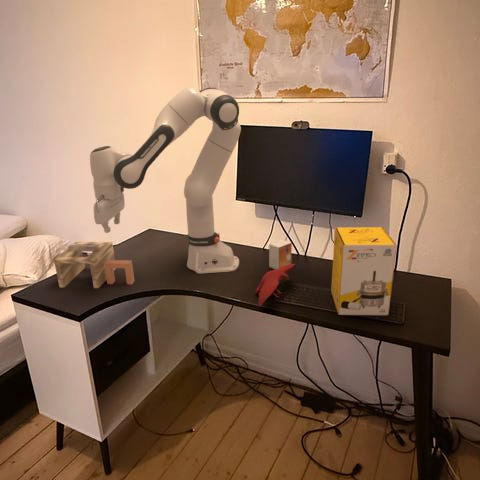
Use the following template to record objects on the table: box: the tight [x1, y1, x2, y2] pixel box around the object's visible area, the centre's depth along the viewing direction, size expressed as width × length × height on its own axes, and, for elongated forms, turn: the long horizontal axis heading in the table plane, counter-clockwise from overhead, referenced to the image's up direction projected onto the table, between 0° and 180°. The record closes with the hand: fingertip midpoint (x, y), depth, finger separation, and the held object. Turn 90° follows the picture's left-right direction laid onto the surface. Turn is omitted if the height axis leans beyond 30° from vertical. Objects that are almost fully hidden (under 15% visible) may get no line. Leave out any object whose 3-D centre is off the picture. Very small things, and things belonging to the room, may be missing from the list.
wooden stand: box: [53, 241, 117, 289], centre depth 164 cm, size 16×18×14 cm
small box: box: [268, 239, 293, 270], centre depth 169 cm, size 8×6×10 cm
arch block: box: [104, 259, 135, 285], centre depth 159 cm, size 10×3×9 cm, turn 85°
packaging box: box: [330, 226, 398, 316], centre depth 137 cm, size 16×16×25 cm
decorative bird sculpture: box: [255, 263, 296, 307], centre depth 146 cm, size 28×9×15 cm
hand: (112, 227), depth 153 cm, fingers open, 8 cm apart
